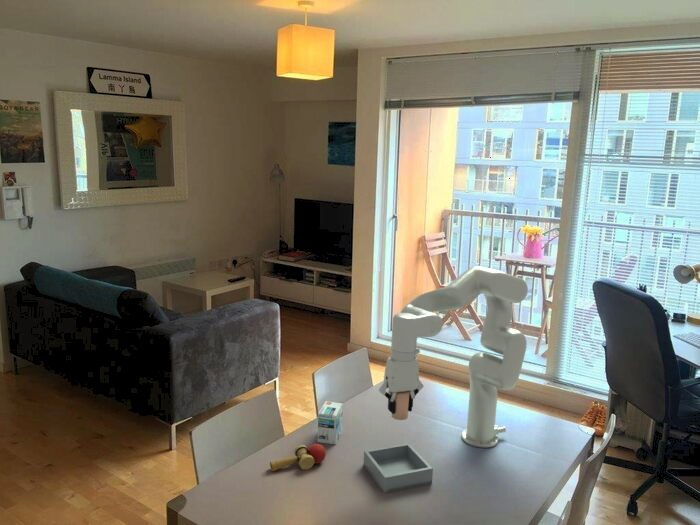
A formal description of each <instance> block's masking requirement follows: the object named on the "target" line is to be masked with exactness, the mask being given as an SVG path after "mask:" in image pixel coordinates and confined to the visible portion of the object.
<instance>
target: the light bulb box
mask: <svg viewBox="0 0 700 525" xmlns="http://www.w3.org/2000/svg"><path fill="white" fill-rule="evenodd" d="M343 407H344V403H339V402H332V401H327V400H326V401H324V403H323V405H321V408H320V409H319V411H318V414H317V417H318V418H317V442H318V443H322V444H329V445H336V444H337V443H338V441H339V438H340V436H341V434H342V432H343V413H344V412H343V409H344V408H343Z"/></svg>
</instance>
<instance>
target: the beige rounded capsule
mask: <svg viewBox="0 0 700 525" xmlns="http://www.w3.org/2000/svg"><path fill="white" fill-rule="evenodd" d="M394 401H395V402H396V406H395V414H392V413H391V417H392V418H393V419H394V420H397V421H404V420H405V421H406V420H407V419H408V418H409V411H408V408H409V391H404V392H397V393H396V396H395V399H394Z"/></svg>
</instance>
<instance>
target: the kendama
mask: <svg viewBox="0 0 700 525" xmlns="http://www.w3.org/2000/svg"><path fill="white" fill-rule="evenodd" d="M294 455H295V456H288V457H285V458H281V459H277V460H272V461H270V462H269V467H270V469H272V470H271V472H275V471H277V470H279V469H282V468H284V467H287V466H291V465H293V464H295V463H297V462H298V465H299V467H300V468H301V469H302V470H304V469H306V470H309V468H310V469H311V468H312V467H313V466H314V464H320V463H322V462H324V460H325V458H326V455H327V452H326V448H325V447H324V445H322V444H319V443H314V444H312V445H310V446H309V447H307V446H306V445H304V444H301V445H298V446H296V448H295V449H294Z"/></svg>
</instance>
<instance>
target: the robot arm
mask: <svg viewBox="0 0 700 525" xmlns="http://www.w3.org/2000/svg"><path fill="white" fill-rule="evenodd" d="M528 287H529V286H528V284H527V282H526V281H525V280H524V279H523V278H521V277H520V276H519V277H518V276H515V275H512V274H509V273H506V272H504V271H501V270H498V269H494V268H489V267H485V266H480V265H475V266H471V267H469V268H468V269H466V270H465V271H464V272H462V273H461V274H460V275H459V276H458V277H456V278H455V279H454V280H453V281H451V282H450V283H449V284H447V285H446V286H445V287H440V288H437V289H434V290H431V291H427V292H424V293H422V294H419V295H418V296H416V297H415V298H413V299H412V300H410V302H408V303H406V305H405V306H404V307H403V308H402V309H401V310H400V312H398V313H396V314H394V315H393V317H392V326H391V327H392V328H391V345H390V346H391V347H390V356H389V357H388V358H387V360H386V362H385V363H386V364H385V367H384V376H383V383H382V384H381V386H380V387H379V389H378V392H379V393H380V394H382V396H385V397H386V398H387V400H388V401H387V410H388V412H390V413H391V415H392V414H395V406H396V402H395V401H394V399H395V396H396V393H397V392H404V391H409V408H408V412H410V413H411V412H413V406H414V399H415V398H416V396H417V394H418V393H420V391H421V390H422V389H423V388H424V387H425V386H424V384H423V383H422V381H421V380H420V369H419V368H420V367H419V360H418V357H417V355H418V354H420V352H421V351H420V348H417V345H418V342H417V341H418V338H432V337H435V336H437V335H438V334H440V333H441V331H442V329H443V326H444V322H443V319H442V318H441V316H440V315H439V314H437V313H435V312H439V311H456V310H461V309H463V308H464V307H466V306H467V305H468V304H469V303H470V302H472V301H473V300H474V299H475V298H476V297H478V296H479V295H481V294H482V295H484V298H485V300H486V304H487V308H486V310H487V311H486V314H485V318H484V322H483V327H482V330H481V334H480V339H479V340H480V344H481V346H482V347H483V348H484V349H486V350H487V351H491V352H493V353H496V354H498V355H502V358H500V357H498V356H495V355H494V354H490V353H487V352H476V353H474V354H473V355H472V356H471V357H470V359H469V362H468V374H469V397H468V408H467V420H466V421H467V423H466V429H464V430H463V431H462V432H461V439H462V440H463V441H464V443H466V444H468V445H470V446H472V447H476V448H477V447H478V448H492V447H495V446H496V445H497V444H498V443H499V437H498V435H499V434H502V433H506V432H507V431H506V430H507V429H506V427H505V426H500V427H499V425H497V424H496V418H497V417H496V416H497V403H498V389H499V390H503V391H510V390H512V389H514V388H515V386H516V385H517V382H518V381H519V378H520V374H521V371H522V367H523V363H524V360H525V355H526V351H527V338H526V335H525V334H524V333H523V332H521V331H520V330H518V329H515V328H512V327H511V321H512V317H513V306H512V303H513V304H520V303H521V302H523V301H524V300H525V299H526V298H527V295H528V291H529V288H528ZM497 388H498V389H497ZM387 390H388V392H387Z"/></svg>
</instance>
